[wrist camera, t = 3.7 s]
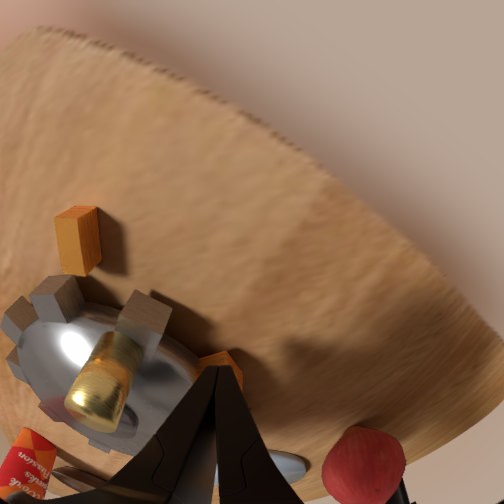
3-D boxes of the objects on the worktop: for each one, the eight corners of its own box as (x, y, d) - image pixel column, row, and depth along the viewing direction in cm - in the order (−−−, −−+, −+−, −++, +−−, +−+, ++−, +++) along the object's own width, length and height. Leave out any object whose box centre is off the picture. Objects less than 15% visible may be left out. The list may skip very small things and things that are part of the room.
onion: (404, 407, 16) (437, 493, 9) (361, 445, 18) (379, 521, 11) (343, 403, 15) (369, 513, 8) (302, 443, 18) (312, 533, 10)
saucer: (135, 502, 32) (133, 514, 29) (61, 472, 29) (58, 483, 27) (141, 489, 26) (138, 503, 24) (47, 448, 24) (41, 461, 21)
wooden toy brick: (173, 210, 10) (160, 224, 9) (188, 426, 16) (184, 444, 15) (24, 205, 10) (3, 215, 9) (86, 403, 16) (79, 418, 15)
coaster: (318, 447, 18) (319, 455, 17) (292, 483, 22) (292, 489, 21) (190, 443, 18) (189, 451, 17) (197, 480, 22) (197, 486, 21)
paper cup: (74, 461, 23) (50, 538, 11) (39, 447, 24) (13, 514, 11) (41, 430, 20) (6, 516, 8) (7, 415, 21) (-27, 488, 8)
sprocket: (268, 295, 11) (279, 408, 6) (241, 459, 18) (239, 517, 13) (-13, 258, 11) (-71, 306, 6) (62, 420, 17) (42, 465, 12)
